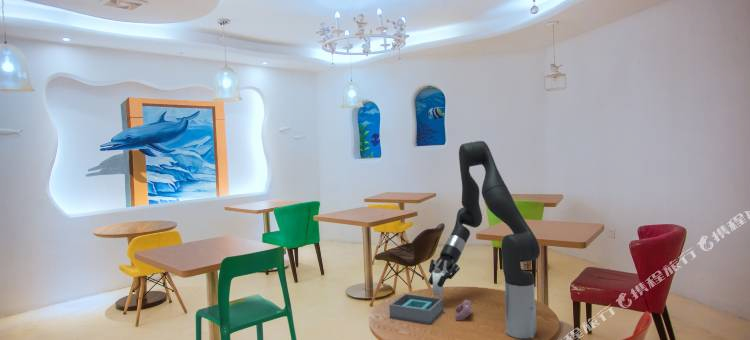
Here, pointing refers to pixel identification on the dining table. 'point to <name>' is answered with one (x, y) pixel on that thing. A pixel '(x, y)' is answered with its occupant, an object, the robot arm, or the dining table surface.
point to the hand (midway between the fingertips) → (434, 284)
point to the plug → (436, 277)
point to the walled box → (416, 308)
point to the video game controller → (463, 310)
